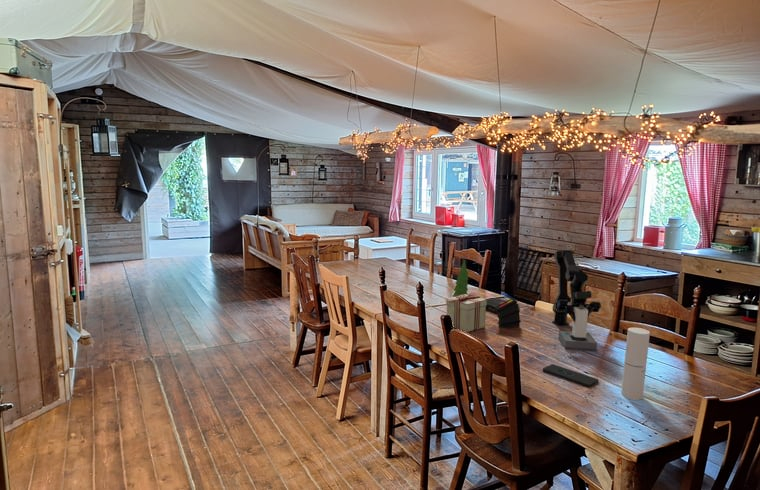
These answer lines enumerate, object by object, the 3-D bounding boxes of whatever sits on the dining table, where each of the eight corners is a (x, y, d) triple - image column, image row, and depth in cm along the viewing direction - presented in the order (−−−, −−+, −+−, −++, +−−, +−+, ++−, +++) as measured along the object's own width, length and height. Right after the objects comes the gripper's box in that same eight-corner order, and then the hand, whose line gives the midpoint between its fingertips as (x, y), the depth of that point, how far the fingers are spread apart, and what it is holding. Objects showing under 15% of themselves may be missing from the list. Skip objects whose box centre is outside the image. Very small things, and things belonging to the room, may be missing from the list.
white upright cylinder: (571, 333, 239) (574, 303, 236) (582, 334, 238) (585, 304, 236) (574, 337, 234) (577, 306, 231) (585, 337, 233) (588, 307, 231)
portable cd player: (518, 310, 295) (519, 304, 294) (498, 315, 285) (498, 308, 285) (497, 303, 308) (498, 297, 308) (477, 307, 299) (477, 301, 298)
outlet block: (558, 338, 246) (558, 330, 246) (588, 340, 245) (588, 332, 244) (564, 349, 233) (565, 340, 232) (596, 351, 231) (597, 342, 230)
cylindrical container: (617, 391, 190) (623, 327, 186) (635, 391, 190) (642, 327, 186) (628, 400, 183) (635, 334, 179) (646, 399, 183) (654, 333, 179)
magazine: (525, 323, 263) (516, 299, 260) (504, 335, 261) (494, 311, 258) (522, 321, 267) (512, 297, 263) (501, 333, 265) (491, 308, 261)
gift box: (458, 319, 275) (459, 288, 272) (486, 327, 262) (488, 295, 259) (438, 325, 263) (439, 293, 260) (467, 334, 250) (469, 300, 247)
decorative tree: (468, 312, 288) (471, 260, 283) (452, 311, 288) (454, 260, 283) (466, 307, 297) (469, 257, 292) (450, 307, 297) (452, 257, 293)
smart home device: (552, 363, 212) (599, 379, 197) (552, 367, 212) (598, 383, 198) (542, 368, 207) (589, 384, 192) (541, 372, 207) (588, 389, 192)
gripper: (560, 283, 237) (563, 312, 228) (601, 285, 235) (606, 314, 226) (555, 294, 246) (558, 323, 237) (595, 297, 244) (600, 326, 235)
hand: (580, 321), depth 233 cm, fingers closed on white upright cylinder, 5 cm apart
